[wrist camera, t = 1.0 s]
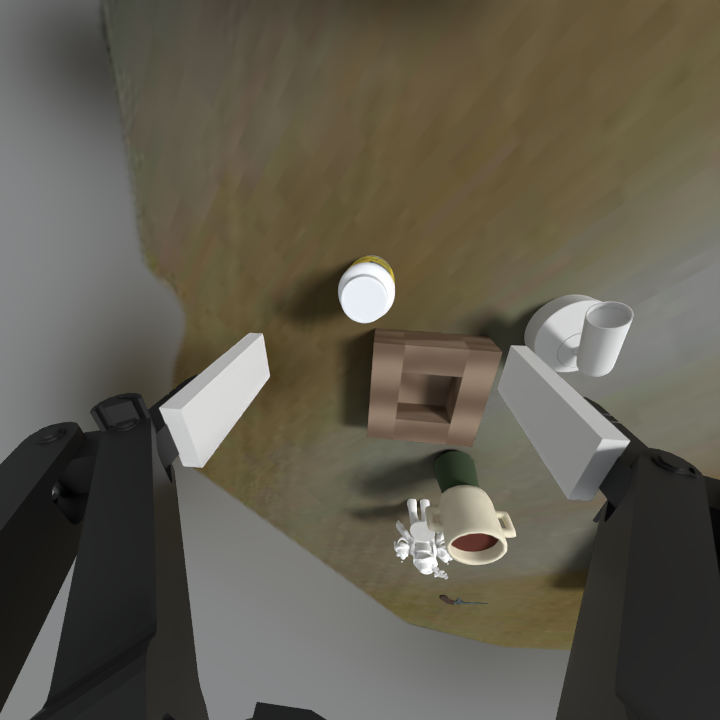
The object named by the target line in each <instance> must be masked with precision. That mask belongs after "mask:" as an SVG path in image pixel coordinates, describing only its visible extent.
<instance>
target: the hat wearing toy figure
mask: <svg viewBox="0 0 720 720" xmlns="http://www.w3.org/2000/svg"><path fill="white" fill-rule="evenodd" d="M420 506H421V512H422V519H421V520H419V519H418V516H417V501H416V500H415V499H408V501H407V507H408V509H409V515H410V521H411V522H410V523H411V528H410V533H411V535H410V534H409V533H408V531H407V530H406V529H405V528H404V525H403V524H401V523H400V522H399V520H398V522H397V523H396V527H397V529H398V530H399V531H400V533H401V535H402V536H403V537H400V539H399V540H398V542H399V541H400V540H405V542H406V543H404V542H400V543H398V544H397V545H395V544H396V542H395V541H394V546H395V547H394V549H395V551H396V552H397V554H396V556H398V557H401V559H405V558H406V556H407V557H408V554H409V552H410V553H411V555H413V558H414V560H413V563H414V565H415V566H416V567H417V568H419V569H418V570H420V572H421V573H423V574H431V573H432V572H434V573H436V574H434V577H438V576H439V577H446V578H445V579H447V578H448V576H446V575H447V573H445V574H443V573H444V571H439V572H438V570H439V568H438V567H437V565H438V563H437V561H436V554H437V556H438V557H439V558H440V559H441V560H443V562H445V563H447V562H448V560H452V558H451V557H450V556H449V554H448V553H447V551H446V547H445V545H441V544H442V543H445V541H444V540H443V539H444V536H443V532H436V534H438V535H437V537H436V538H434V537H435V532H432V531H430V530H429V529H428V527H427V522H426V515H425V508H426V507H427V506H430V504H429V500H427V499H422V500H420ZM409 545H410V546H409ZM440 545H441V546H440ZM409 550H410V551H409ZM401 562H403V561H401ZM447 564H448V563H447ZM435 567H437V568H435ZM433 568H434V569H433ZM440 574H441V575H440Z"/></svg>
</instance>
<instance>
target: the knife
mask: <svg viewBox="0 0 720 720" xmlns="http://www.w3.org/2000/svg"><path fill="white" fill-rule="evenodd" d="M440 599H441V600H443V601H444V602H446V603H448V604H488V603H469V602H463V601H462V600H460V598H458V599H457V601H453V600H450V599H449V598H448V597H447V596H446V595H440ZM457 602H458V603H457Z"/></svg>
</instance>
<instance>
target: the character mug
mask: <svg viewBox="0 0 720 720" xmlns="http://www.w3.org/2000/svg"><path fill="white" fill-rule="evenodd" d="M433 466H434V471H435V475H436V478H437V481H438V484H439V487H440V489H441V492H442V495H441V497H440V500H439V503H438V506H427V507H426V508H425V515H426V522H427V527H428V529H429V530H430V531H432V532H443V536H444V541H445V547H446V551H447V553H448V554H449V556H450V557H451V558H452V559H454V560H456V561H458V562H460V563H464V564H469V565H482V564H487V563H491V562H494V561H496V560H498V559H500V558H501V557H502V556H503V555H504V554H505V553H506V552H507V542H506V539H505V537H507V538H512V537H516V532H515V529H514V527H513V524H512V522H511V519H510V517H509V515H508V514H507V512H505V511H498V510H494V507H493V504H492V502H491V500H490V499H489V497H488V496H487V494H486V493H485V491H483V490H482V489H480V488H479V485H478V480H477V474H476V469H475V465H474V461H473V460H472V459H471V457H470V456H469V455H467V454H465V453H463V452H460V451H450V452H447V453H444V454H442V455H441V456H440V457H439V458H437V459H436V461H435V463H434V465H433ZM433 514H440V521H441V523H434V519H433ZM498 519H502V520H503V522H504V524H505V527H506V528H501V526H500V523H499V520H498Z"/></svg>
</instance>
